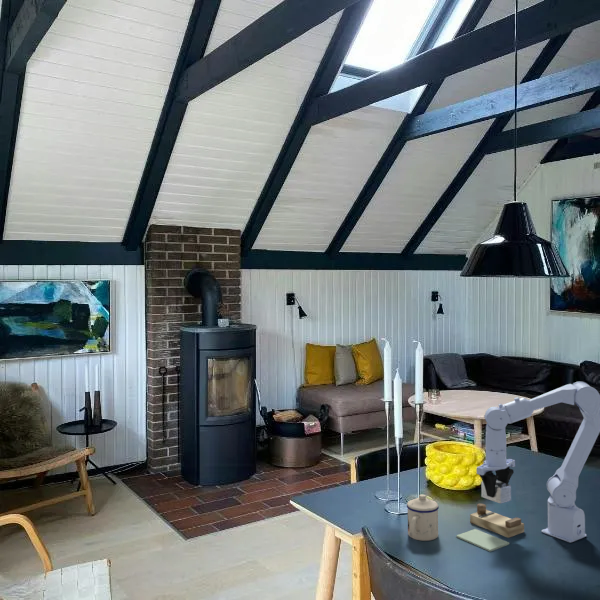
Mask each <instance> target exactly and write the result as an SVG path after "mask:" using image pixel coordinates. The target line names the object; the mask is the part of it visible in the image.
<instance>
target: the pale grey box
mask: <svg viewBox="0 0 600 600" xmlns="http://www.w3.org/2000/svg"><path fill="white" fill-rule="evenodd" d="M480 487H481V489H480V490H481V492H480V493H481V498H484V499H487V500H490V501H492V502H495V503H498V504H504V503H508V502H510V501H511V502H512V484H509V483H508V484H506V483H504V482H501V481H498V480H497V481H496V485H495V495H494V497H493V498H492V497H489V496H487V493H486V489H485V486H484V483H483V481H481V486H480Z"/></svg>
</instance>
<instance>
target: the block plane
mask: <svg viewBox="0 0 600 600" xmlns="http://www.w3.org/2000/svg"><path fill="white" fill-rule="evenodd" d="M469 516H470V517H469V520H470V521H469V522H470V524H473V525H476V526H478V527H480V528H483V529H486V530H487V531H490V532H493V533H496V534H497V535H501V536H503V537H505V538H508V539H509V538H512V537H514V536H517V535H520V534H523V533H525V523H524V522H522V518H519V517H518V516H517V517H514V518H510V517H508V516H504V515H502V514H500V513H497V512H493V511H491V510H489V509H487V505H486V504H484V503H477V505H476V512H473V513H471V514H469Z"/></svg>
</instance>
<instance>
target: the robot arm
mask: <svg viewBox="0 0 600 600" xmlns="http://www.w3.org/2000/svg"><path fill="white" fill-rule="evenodd" d="M560 403H564V404H568V405H572V406H575V405H576V406H577V407H578V408H579V411H580V413H581V415H582V417H583V419H582V421H581V424H580V425H579V428H578V430H577V431H576V434H575V436H574V438H573V440H572V442H571V445H570V447H569V449H568V450H567V453H566V456H565V457H564V459H563V461H562V464H561V466H560V467H558V469H556V471H555V472H554V474H553V476H551V477H549V478H548V480H547V481H546V489H547V491H548V492H549V494H550V495H549V497H548V499H547V527H546V528H544V529H541V533H543V534H545V535H548V536H550V537H554V538H556V539H559V540H562V541H565V542H567V543H573V542H576V541H578V540H581V539H584V538H585V537H587V533H586V515H585V511H584V510H583V509H581V508H580V507H578V506H577V505H576V503H575V502H576V499H577V489H578V487H579V476H580V474H581V472H582V470H583V468H584V466H585V464H586V462H587V459H588V457H589V455H590V454H591V452H592V450H593V448H594V445H595V443H596V440H597V439H598V436H599V435H600V393H599V391H598V390H597V389H596V388H595V387H592V386H590V385H589V384H588V383H587V382H585V381H576V382H573V383H568V384H565V385H562V386H560V387H557V388H555V389H553V390H550V391H548V392H544V393H543V394H541V395H537V396H535V397H533V398H531V399H527V398H525V397H519V396H516V397H514V398H513V400H512V401H509V402H506V403H503V404H502V403H499V404H498V406H491V407H489V408H487V410H486V411H485V414H484V415H483V417H484V421H485V422H486V425H485V430H486V432H485V460H483V464H481V465H479V466H476V475H478V476H479V478H480V479H481V482H483V483H484V486H485V489H486V493H487V496H489V497H492V498H493V497H494V495H495V485H496V481H497V480H498V481H501V482H504V483H506V484H509V482H510V480H511V478H512V476H513V474H515V473H514V471H515V470H514V469H512V468H514V467H516V460H515V459H512V458H508V459H507V434H506V427H507V426H508V424H513V423H516V422H519V421H521V420H525V419H527V418H530V417H532V415H533V413H534V411H536V410H539V409H543V408H547V407H550V406H553V405H556V404H560ZM510 467H511V468H510ZM494 472H495V474H494Z"/></svg>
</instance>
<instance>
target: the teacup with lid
mask: <svg viewBox="0 0 600 600" xmlns="http://www.w3.org/2000/svg"><path fill="white" fill-rule="evenodd" d="M406 509H407V535H408V537H410V538H411V539H413V540H416V541H422V542H426V541H433V540H436V539H437V538H438V537H439V504H438V502H436V501H435V500H432V499H430V498H427V495H425V494H423V493H422V494H419V495H418V497H417V498H414V499H411V500H408V502H407V503H406Z"/></svg>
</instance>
